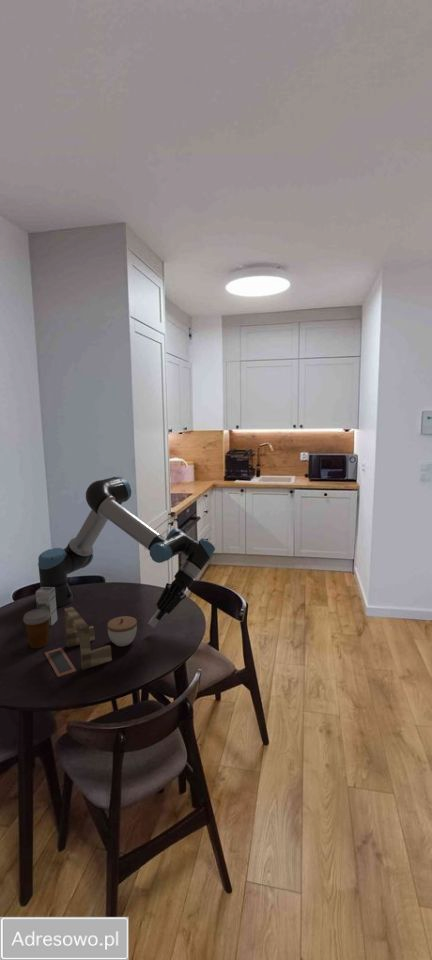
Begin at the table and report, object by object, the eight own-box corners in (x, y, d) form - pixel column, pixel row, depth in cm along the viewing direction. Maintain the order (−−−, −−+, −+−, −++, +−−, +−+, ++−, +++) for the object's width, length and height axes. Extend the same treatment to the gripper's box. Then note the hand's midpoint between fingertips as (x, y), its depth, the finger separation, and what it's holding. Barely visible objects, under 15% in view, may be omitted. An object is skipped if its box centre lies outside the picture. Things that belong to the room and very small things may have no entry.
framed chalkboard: (44, 653, 161) (44, 652, 161) (61, 648, 164) (61, 647, 164) (57, 677, 146) (57, 676, 146) (76, 671, 149) (76, 670, 149)
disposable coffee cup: (30, 653, 161) (27, 622, 159) (21, 643, 168) (18, 613, 166) (57, 644, 167) (54, 613, 165) (47, 635, 174) (44, 605, 172)
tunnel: (66, 646, 165) (63, 608, 163) (93, 638, 171) (91, 601, 169) (82, 669, 150) (80, 628, 148) (111, 660, 155) (109, 620, 153)
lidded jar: (127, 632, 175) (126, 609, 173) (143, 641, 167) (142, 618, 166) (102, 642, 167) (101, 618, 166) (118, 653, 160) (117, 628, 158)
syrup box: (58, 619, 187) (55, 586, 185) (51, 626, 181) (48, 592, 179) (44, 619, 187) (42, 586, 185) (37, 626, 182) (34, 591, 179)
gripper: (201, 584, 176) (165, 636, 169) (184, 574, 187) (150, 623, 180) (189, 574, 172) (151, 627, 166) (173, 564, 183) (137, 614, 176)
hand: (150, 625), depth 173 cm, fingers closed
